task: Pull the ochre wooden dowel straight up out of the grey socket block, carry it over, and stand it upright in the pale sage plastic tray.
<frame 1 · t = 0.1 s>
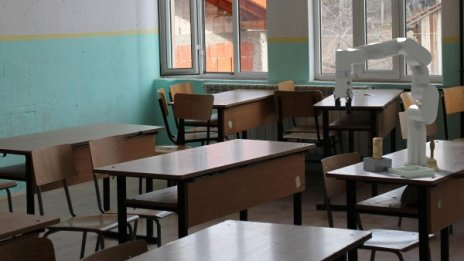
hand: (343, 109, 431), 31 cm above the table, fingers open, 9 cm apart
dowel: (377, 170, 431), point 1 cm above the table, touching grey socket block
grey socket block: (377, 172, 431), on the table
tray: (411, 174, 423), on the table
hand bell: (431, 171, 435), on the table
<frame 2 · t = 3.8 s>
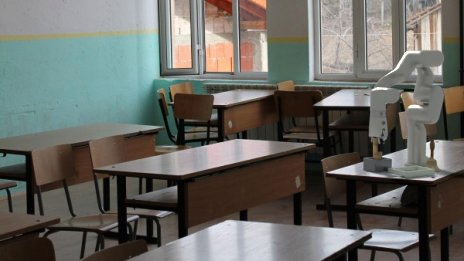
hand: (377, 150, 430), 11 cm above the table, fingers closed on dowel, 4 cm apart
dowel: (377, 170, 431), point 1 cm above the table, touching gripper, grey socket block
everything else where it was.
when the fingers open (12 cm above the table, at t = 12.0 s): dowel drops 1 cm, resting on tray.
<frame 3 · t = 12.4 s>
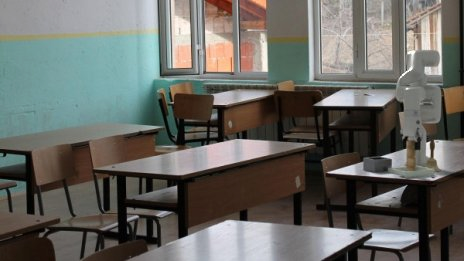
hand: (411, 148, 421), 13 cm above the table, fingers open, 9 cm apart
dowel: (411, 173, 423), point 1 cm above the table, touching tray
everything else where it was.
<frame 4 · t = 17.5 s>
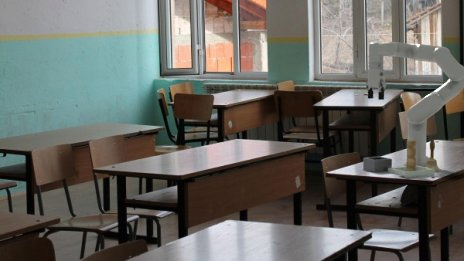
hand: (375, 99, 455), 34 cm above the table, fingers open, 9 cm apart
nothing on the table moved.
at the end: dowel inside the target area on the tray (0.1 cm from its centre), point 0.6 cm above the tray's base; dowel tilted 0°; the gripper is holding nothing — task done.
